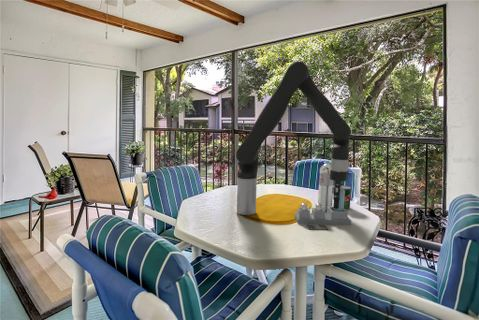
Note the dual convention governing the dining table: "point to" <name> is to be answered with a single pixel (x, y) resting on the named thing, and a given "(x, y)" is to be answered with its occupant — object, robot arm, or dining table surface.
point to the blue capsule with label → (341, 201)
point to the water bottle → (325, 187)
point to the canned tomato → (347, 197)
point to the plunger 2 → (318, 207)
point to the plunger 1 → (303, 206)
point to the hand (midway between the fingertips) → (336, 206)
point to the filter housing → (322, 217)
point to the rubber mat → (316, 227)
